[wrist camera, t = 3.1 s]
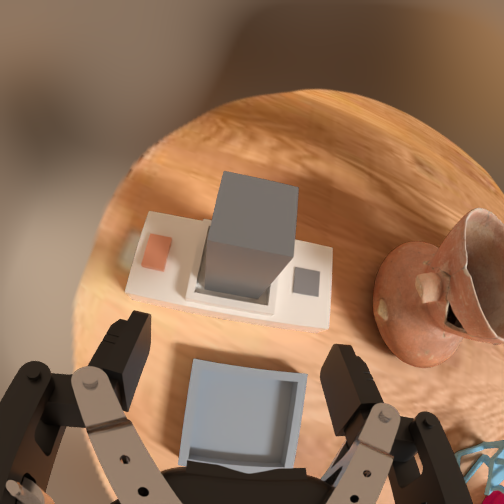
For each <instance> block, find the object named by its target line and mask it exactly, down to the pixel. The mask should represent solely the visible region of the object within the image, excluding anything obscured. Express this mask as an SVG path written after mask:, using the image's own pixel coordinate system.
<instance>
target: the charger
mask: <svg viewBox="0 0 504 504" xmlns="http://www.w3.org/2000/svg"><path fill="white" fill-rule="evenodd" d="M298 191H299V187H295V186H291V185H287V184H283V183H278V182H274V181H270V180H265V179H260V178H256V177H251V176H246V175H242V174H237V173H232V172H227V171H224V172H223V176H222V180H221V184H220V188H219V192H218V196H217V200H216V204H215V208H214V213H213V217H212V221H211V226H210V230H209V234H208V239H207V251H206V267H205V286H204V289H205V290H210V291H215V292H221V293H226V294H231V295H237V296H242V297H248V298H253V299H259V297H260V296H261V295H262V294H263V293H264V292H265V290H266V289H267V288H268V287H269V286H270V285H271V283H272V282H273V281H274V280H275V279H276V278H277V276H278V275H279V274H280V273H281V272H282V270H283V269H284V268H285V267H286V266H287V264H288V263H289V262H290V261H291V260H292V258H293V257H294V246H295V234H296V221H297V206H298Z"/></svg>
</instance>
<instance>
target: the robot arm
mask: <svg viewBox="0 0 504 504" xmlns="http://www.w3.org/2000/svg"><path fill="white" fill-rule="evenodd" d="M492 344H495V345H498V344H502V343H492ZM150 345H151V314H148V313H144V312H139V311H135V310H134V311H133V312H132V314H131V315H130V317H129V319H128V321H126V320H122V319H119V320H118V321H116V322H115V323H114V324H112V325H111V326H110V328H109V330H108V331H107V334H106V335H105V337H104V338H103V341H102V342H101V343H100V345H99V347H98V349H97V350H96V352H95V354H94V356H93V357H92V359H91V361H90V363H89V365H88V366H86V367H82V368H79V369H78V370H76V371H75V372H74V374H71V375H66V374H54V373H51V371H50V369H49V368H48V366H47V365H45V364H44V363H42V362H39V361H31V362H28V363H26V364H24V365H23V366H22V367H21V368H20V369H19V371H18V373H17V374H16V376H15V377H14V379H13V381H12V383H11V384H10V386H9V388H8V389H7V391H6V393H5V395H4V397H3V398H2V400H1V402H0V504H55V503H54V501H53V500H52V498H51V497H50V496H49V495H48V494H47V493H46V488H47V485H48V481H49V477H50V474H51V470H52V468H53V464H54V461H55V458H56V454H57V452H58V449H59V446H60V443H61V440H62V437H63V434H64V432H65V429H66V426H69V427H81V428H86V429H87V433H88V436H89V438H90V441H91V443H92V446H93V448H94V450H95V453H96V455H97V457H98V459H99V462H100V464H101V466H102V468H103V470H104V472H105V474H106V477H107V479H108V481H109V483H110V484H111V486H112V488H113V490H114V492H115V494H116V496H117V498H118V499H117V500H115V501H114V502H112V503H111V504H376V501H377V499H378V497H379V495H380V492H381V490H382V488H383V485H384V483H385V480H386V478H387V475H388V477H389V480H390V484H391V488H392V492H393V496H394V500H395V504H473V502H472V499H471V497H470V494H469V491H468V488H467V485H466V483H465V480H464V478H463V475H462V472H461V470H460V467H459V465H458V462H457V460H456V458H455V455H454V453H453V450H452V448H451V446H450V443H449V441H448V439H447V437H446V434H445V432H444V430H443V428H442V426H441V424H440V421H439V420H438V418H437V417H436V416H435V415H434V414H432V413H430V412H420V413H419V414H418V415H417V416H416V417H415V418H414V419H413V418H407V417H402V416H400V415H399V413H398V411H397V410H396V409H395V408H394V407H393V406H391V405H389V404H386V403H384V402H383V400H382V397H381V395H380V393H379V391H378V388H377V386H376V384H375V382H374V381H373V377H372V375H371V374H370V371H369V369H368V367H367V365H366V363H365V362H364V361H363V360H362V359H361V358H360V357H359V356H356V355H355V352H354V350H353V348H352V346H351V345H343V344H334V345H333V346H332V348H331V350H330V352H329V354H328V356H327V358H326V360H325V362H324V364H323V366H322V368H321V372H320V380H321V384H322V388H323V391H324V395H325V399H326V402H327V406H328V410H329V413H330V417H331V421H332V425H333V428H334V432H335V436H345V437H346V440H345V442H344V443H343V445H342V446H341V448H340V450H339V452H338V453H337V455H336V457H335V458H334V460H333V462H332V463H331V465H330V467H329V468H328V470H327V471H326V473H325V474H324V475H323V477H322V478H321V479H318V478H315V477H312V476H309V475H307V474H306V468H278V469H273V470H268V471H262V472H257V473H250V474H248V473H243V472H240V471H236V470H233V469H230V468H227V467H223V466H220V465H217V464H209V463H202V462H195V461H189V460H187V465H186V467H177V468H171V469H167V470H164V471H161V472H160V471H159V469H158V468H157V466H156V464H155V463H154V461H153V459H152V458H151V456H150V454H149V453H148V451H147V449H146V448H145V446H144V444H143V442H142V441H141V439H140V437H139V435H138V433H137V431H136V430H135V428H134V426H133V424H132V422H131V421H130V420H128V419H127V418H126V416H125V414H124V412H123V411H126V412H128V411H129V408H130V405H131V402H132V399H133V396H134V393H135V390H136V387H137V385H138V382H139V379H140V376H141V373H142V371H143V368H144V365H145V363H146V360H147V357H148V354H149V351H150ZM417 453H418V454H419V457H420V460H421V462H422V465H423V472H422V474H421V475H420V472H419V469H418V466H417V463H416V460H415V457H414V456H415V455H416V454H417Z"/></svg>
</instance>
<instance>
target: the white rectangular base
mask: <svg viewBox="0 0 504 504" xmlns="http://www.w3.org/2000/svg"><path fill="white" fill-rule="evenodd" d="M211 221H212V220H208V219H203V221H201V220H196V219H191V218H186V217H180V216H175V215H170V214H164V213H159V212H153V211H149V212H148V215H147V218H146V221H145V224H144V227H143V230H142V233H141V236H140V239H139V243H138V246H137V249H136V253H135V256H134V259H133V263H132V266H131V270H130V274H129V277H128V281H127V285H126V289H125V293H126V294H127V295H128V296H129V297H130V298H131V299H132V300H135V301H139V302H143V303H148V304H152V305H156V306H161V307H165V308H170V309H174V310H179V311H184V312H189V313H194V314H199V315H204V316H209V317H215V318H220V319H225V320H231V321H237V322H243V323H249V324H255V325H261V326H268V327H275V328H282V329H289V330H296V331H304V332H312V333H318V332H321V331H324V330H327V329H329V320H330V305H331V287H332V261H333V248H332V247H328V246H323V245H319V244H314V243H309V242H305V241H300V240H295V246H294V257H293V258H292V260H291V261H290V262H289V263H288V264H287V266H286V267H285V268H284V269H283V270H282V272H281V273H280V274H279V275H278V276H277V278H276V279H275V280H274V281H273V282H272V283H271V285H270V286H269V287H268V288H267V289H266V290H265V292H264V293H263V294H262V295H261V296H260V297H259V299H253V298H248V297H242V296H237V295H231V294H226V293H221V292H215V291H210V290H205V289H204V286H205V267H206V251H207V239H208V234H209V230H210V226H211Z"/></svg>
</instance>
